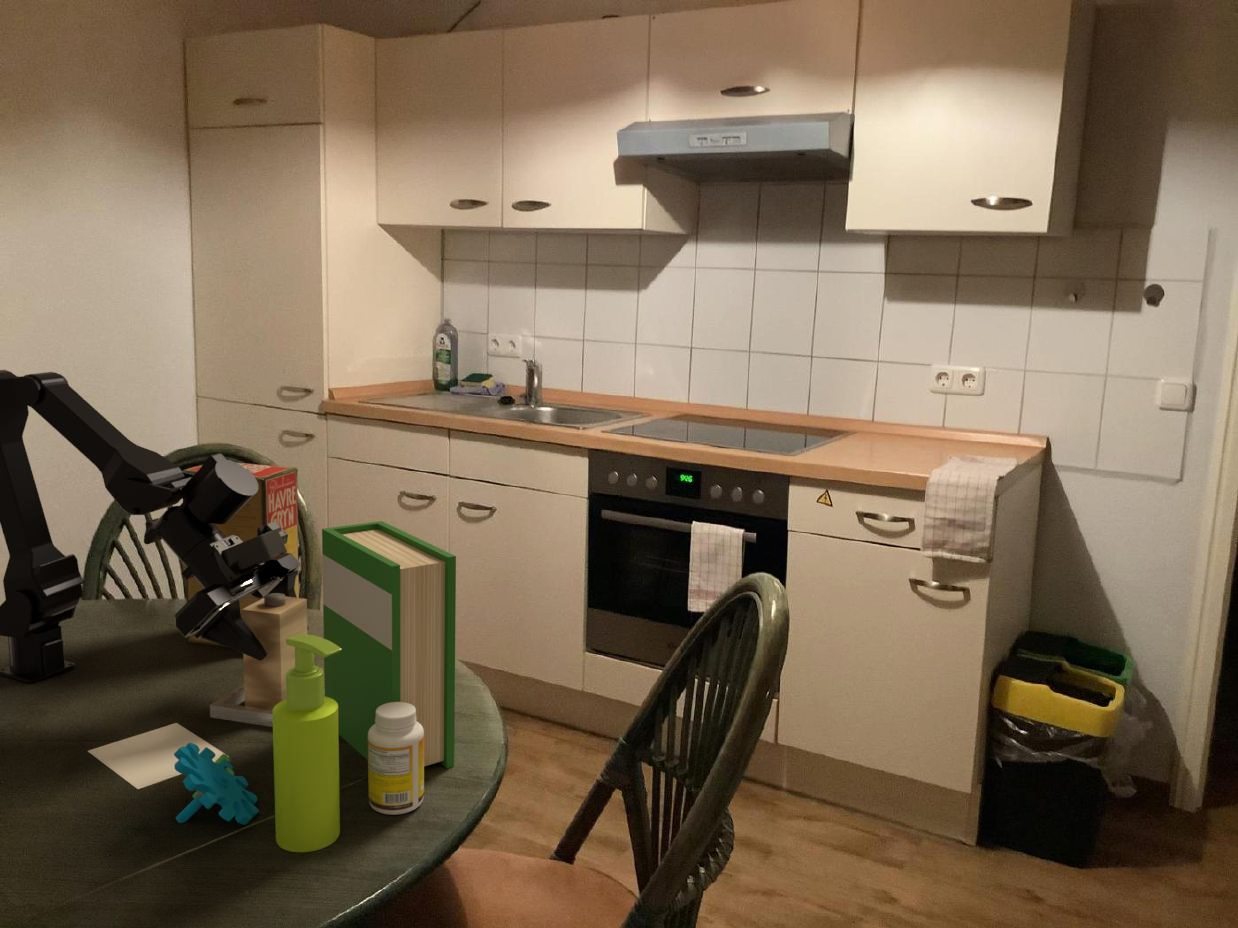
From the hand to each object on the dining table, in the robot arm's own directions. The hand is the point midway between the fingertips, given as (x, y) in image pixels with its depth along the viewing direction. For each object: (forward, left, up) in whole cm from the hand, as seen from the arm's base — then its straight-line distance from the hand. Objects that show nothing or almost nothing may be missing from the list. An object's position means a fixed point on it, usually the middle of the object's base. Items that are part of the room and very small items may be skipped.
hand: (285, 644), depth 124 cm
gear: (+12, -22, -9) cm, 26 cm away
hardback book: (+16, -2, -8) cm, 19 cm away
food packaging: (-23, +15, -8) cm, 29 cm away
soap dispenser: (+22, -21, -8) cm, 32 cm away
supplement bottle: (+25, -12, -8) cm, 29 cm away
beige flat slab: (-3, -16, -8) cm, 19 cm away
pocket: (-1, 0, -8) cm, 8 cm away
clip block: (-1, 0, -8) cm, 8 cm away
